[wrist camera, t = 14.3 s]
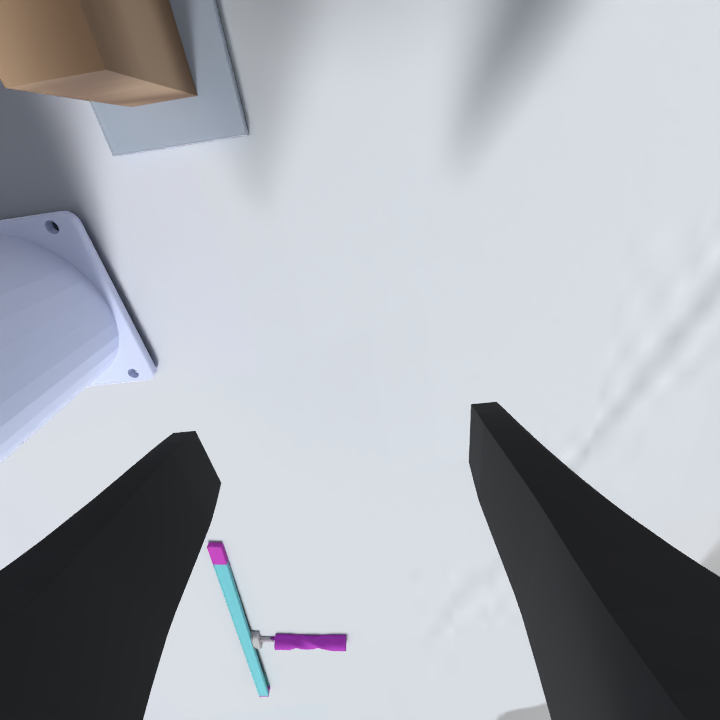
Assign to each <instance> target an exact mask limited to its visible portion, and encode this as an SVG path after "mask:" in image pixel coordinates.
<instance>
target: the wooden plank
mask: <svg viewBox="0 0 720 720" xmlns="http://www.w3.org/2000/svg"><path fill="white" fill-rule="evenodd" d="M0 79H1V81H2V83H3V85H4V87H5V88H8V89H15V90H22V91H28V92H35V93H41V94H48V95H54V96H61V97H67V98H74V99H80V100H87V101H93V102H100V103H106V104H113V105H119V106H126V107H135V106H141V105H147V104H153V103H158V102H164V101H170V100H176V99H182V98H188V97H194V96H198V95H197V92H196V88H195V85H194V82H193V78H192V75H191V72H190V68H189V65H188V62H187V58H186V55H185V52H184V48H183V45H182V41H181V38H180V35H179V31H178V28H177V25H176V21H175V18H174V15H173V11H172V8H171V5H170V1H169V0H0Z"/></svg>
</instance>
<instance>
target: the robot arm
mask: <svg viewBox="0 0 720 720" xmlns="http://www.w3.org/2000/svg"><path fill="white" fill-rule="evenodd" d="M52 221H53V222H55V223H56V224H57V226H58V228H59V231H57V230H56V229H55V228H54V227H53V224H52ZM133 369H134V370H136V371H137V372H138V373H136V372H134V371H133ZM156 372H157V370H156V367H155V365H154V363H153V361H152V359H151V357H150V355H149V353H148V351H147V349H146V347H145V345H144V343H143V342H142V340H141V338H140V336H139V334H138V332H137V330H136V328H135V326H134V324H133V322H132V320H131V318H130V316H129V314H128V312H127V310H126V308H125V306H124V304H123V302H122V301H121V299H120V297H119V295H118V293H117V291H116V289H115V287H114V285H113V283H112V281H111V279H110V277H109V275H108V273H107V271H106V269H105V267H104V265H103V263H102V261H101V260H100V258H99V256H98V254H97V252H96V250H95V248H94V246H93V244H92V242H91V240H90V238H89V236H88V234H87V232H86V230H85V228H84V226H83V224H82V222H81V221H80V220H79V218H78V217H77V216H76V215H75V214H73V213H71V212H69V211H57V212H51V213H44V214H37V215H31V216H24V217H17V218H11V219H4V220H0V463H1V462H2V461H3V460H4V459H6V458H7V457H8V456H9V455H10V454H11V453H12V452H14V451H15V450H16V449H17V448H18V447H19V446H20V445H21V444H23V443H24V442H25V441H26V440H27V439H28V438H29V437H31V436H32V435H33V434H34V433H35V432H36V431H37V430H38V429H40V428H41V427H42V426H43V425H44V424H45V423H46V422H48V421H49V420H50V419H51V418H52V417H53V416H54V415H55V414H57V413H58V412H59V411H60V410H61V409H62V408H63V407H65V406H66V405H67V404H68V403H69V402H70V401H71V400H73V399H74V398H75V397H76V396H77V395H78V394H79V393H80V392H82V391H83V390H84V389H85V388H86V387H89V386H98V385H107V384H116V383H126V382H135V381H144V380H150V379H152V378H153V377H154V375H155V374H156ZM469 464H470V468H471V472H472V476H473V480H474V484H475V488H476V491H477V495H478V499H479V502H480V505H481V507H482V510H483V513H484V515H485V518H486V521H487V523H488V526H489V529H490V531H491V534H492V536H493V539H494V542H495V544H496V547H497V550H498V552H499V555H500V557H501V560H502V563H503V565H504V568H505V570H506V573H507V576H508V578H509V581H510V583H511V586H512V589H513V591H514V594H515V597H516V600H517V603H518V606H519V609H520V612H521V615H522V618H523V621H524V624H525V628H526V631H527V635H528V638H529V642H530V645H531V649H532V652H533V656H534V659H535V662H536V666H537V669H538V673H539V677H540V680H541V684H542V687H543V691H544V695H545V698H546V702H547V705H548V709H549V713H550V716H551V720H720V577H719V576H717V575H716V574H714V573H713V572H711V571H710V570H708V569H706V568H705V567H703V566H702V565H700V564H698V563H697V562H695V561H694V560H692V559H691V558H689V557H688V556H686V555H685V554H683V553H682V552H680V551H679V550H677V549H676V548H674V547H673V546H671V545H670V544H668V543H667V542H666V541H664V540H663V539H661V538H660V537H658V536H657V535H656V534H654V533H653V532H651V531H650V530H648V529H647V528H646V527H644V526H643V525H641V524H640V523H638V522H637V521H636V520H634V519H633V518H631V517H630V516H629V515H627V514H626V513H625V512H623V511H622V510H621V509H619V508H618V507H617V506H615V505H614V504H613V503H612V502H610V501H609V500H608V499H606V498H605V497H604V496H603V495H601V494H600V493H599V492H598V491H596V490H595V489H594V488H592V487H591V486H590V485H589V484H587V483H586V482H585V481H584V480H583V479H581V478H580V477H579V476H578V475H577V474H575V473H574V472H573V471H572V470H571V469H569V468H568V467H567V466H566V465H565V464H564V463H562V462H561V461H560V460H559V459H558V458H557V457H556V456H554V455H553V454H552V453H551V452H550V451H549V450H547V449H546V448H545V447H544V446H543V445H542V444H541V443H540V442H539V441H538V440H536V439H535V438H534V437H533V436H532V435H531V434H530V433H529V432H528V431H527V430H526V429H525V428H524V427H522V426H521V425H520V424H519V423H518V422H517V421H516V420H515V419H514V418H513V417H512V416H511V415H510V414H509V413H508V412H507V411H506V410H505V409H504V408H503V407H502V406H501V405H499V404H498V403H497V402H490V403H480V404H471V422H470V448H469ZM220 486H221V482H220V480H219V478H218V476H217V474H216V472H215V470H214V468H213V466H212V463H211V461H210V459H209V457H208V455H207V453H206V451H205V449H204V447H203V445H202V443H201V441H200V439H199V437H198V435H197V433H196V431H190V432H180V433H173V434H172V435H170V436H169V437H168V438H166V439H165V440H164V441H162V442H161V443H160V444H159V445H157V446H156V447H155V448H154V449H152V450H151V451H150V452H149V453H148V454H146V455H145V456H144V457H143V458H142V459H140V460H139V461H138V462H137V463H136V464H135V465H133V466H132V467H131V468H130V469H129V470H127V471H126V472H125V473H124V474H123V475H122V476H120V477H119V478H118V479H117V480H116V481H114V482H113V483H112V484H111V485H110V486H108V487H107V488H106V489H105V490H104V491H103V492H101V493H100V494H99V495H98V496H97V497H95V498H94V499H93V500H92V501H91V502H89V503H88V504H87V505H86V506H84V507H83V508H82V509H80V510H79V511H78V512H77V513H75V514H74V515H73V516H72V517H70V518H69V519H68V520H67V521H65V522H64V523H63V524H62V525H60V526H59V527H58V528H57V529H55V530H54V531H53V532H52V533H50V534H49V535H48V536H47V537H45V538H44V539H43V540H41V541H40V542H39V543H37V544H36V545H35V546H33V547H32V548H31V549H29V550H28V551H27V552H25V553H24V554H23V555H21V556H20V557H19V558H17V559H16V560H15V561H13V562H12V563H10V564H9V565H7V566H6V567H5V568H3V569H2V570H0V720H143V717H144V714H145V710H146V706H147V703H148V699H149V695H150V692H151V688H152V684H153V681H154V678H155V674H156V671H157V668H158V664H159V661H160V658H161V654H162V651H163V648H164V644H165V641H166V638H167V635H168V632H169V629H170V626H171V623H172V621H173V618H174V615H175V612H176V610H177V607H178V605H179V602H180V600H181V597H182V595H183V592H184V590H185V587H186V585H187V582H188V580H189V577H190V575H191V572H192V570H193V567H194V565H195V562H196V560H197V557H198V555H199V552H200V550H201V547H202V544H203V542H204V539H205V537H206V534H207V532H208V529H209V526H210V524H211V521H212V517H213V514H214V510H215V506H216V503H217V498H218V494H219V490H220Z"/></svg>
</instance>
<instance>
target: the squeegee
mask: <svg viewBox="0 0 720 720" xmlns="http://www.w3.org/2000/svg"><path fill="white" fill-rule="evenodd" d="M207 549H208V551H209V554H210V557H211V560H212V563H213V566H214V569H215V571H216V574H217V577H218V580H219V583H220V586H221V589H222V591H223V594H224V597H225V600H226V603H227V606H228V608H229V611H230V614H231V617H232V620H233V623H234V626H235V628H236V631H237V634H238V637H239V640H240V643H241V645H242V648H243V651H244V654H245V657H246V660H247V663H248V665H249V668H250V671H251V674H252V677H253V680H254V683H255V685H256V688H257V691H258V694H259V697H268V696H269V690H270V685H268V684H269V682H268V683H267V681H268V679H267V680H266V678H267V676H266V677H264V676H265V675H266V673H265V674H263V672H262V669H261V665H260V662H259V659H258V656H257V653H256V649H255V648H257V649H261V648H262V644H263V643H262V642H274V640H275V646H274V647H275V650H291V649H294V648H299V649H305V650H307V649H316V648H320V649H325V650H330V651H346V635H293V634H276V636H275V637H273V638H271V637H262V636H260V633H259V631H250V630H249V627H248V624H247V620H246V617H245V614H244V611H243V608H242V604H241V601H240V598H239V595H238V591H237V588H236V585H235V582H234V579H233V575H232V572H231V569H230V564H229V561H228V558H227V555H226V552H225V549H224V546H223V543H208V546H207Z"/></svg>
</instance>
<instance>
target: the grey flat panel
mask: <svg viewBox="0 0 720 720" xmlns="http://www.w3.org/2000/svg"><path fill="white" fill-rule="evenodd" d="M169 1H170V5H171V8H172V11H173V15H174V18H175V21H176V25H177V28H178V31H179V35H180V38H181V41H182V45H183V48H184V52H185V55H186V58H187V62H188V65H189V68H190V72H191V75H192V78H193V82H194V85H195V88H196V92H197V95H198V96H194V97H188V98H182V99H176V100H170V101H164V102H158V103H153V104H147V105H141V106H135V107H126V106H119V105H113V104H106V103H100V102H93V101H90V103H91V106H92V108H93V110H94V113H95V115H96V117H97V120H98V122H99V124H100V127H101V129H102V131H103V134H104V136H105V138H106V141H107V143H108V145H109V148H110V150H111V152H112V155H113V156H121V155H127V154H134V153H140V152H146V151H152V150H158V149H165V148H171V147H177V146H183V145H190V144H196V143H202V142H208V141H215V140H221V139H227V138H233V137H239V136H246V135H249V133H248V129H247V125H246V121H245V117H244V113H243V109H242V105H241V101H240V97H239V93H238V89H237V85H236V81H235V77H234V73H233V69H232V65H231V61H230V57H229V53H228V49H227V45H226V41H225V37H224V33H223V29H222V25H221V21H220V17H219V13H218V9H217V5H216V1H215V0H169Z"/></svg>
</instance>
